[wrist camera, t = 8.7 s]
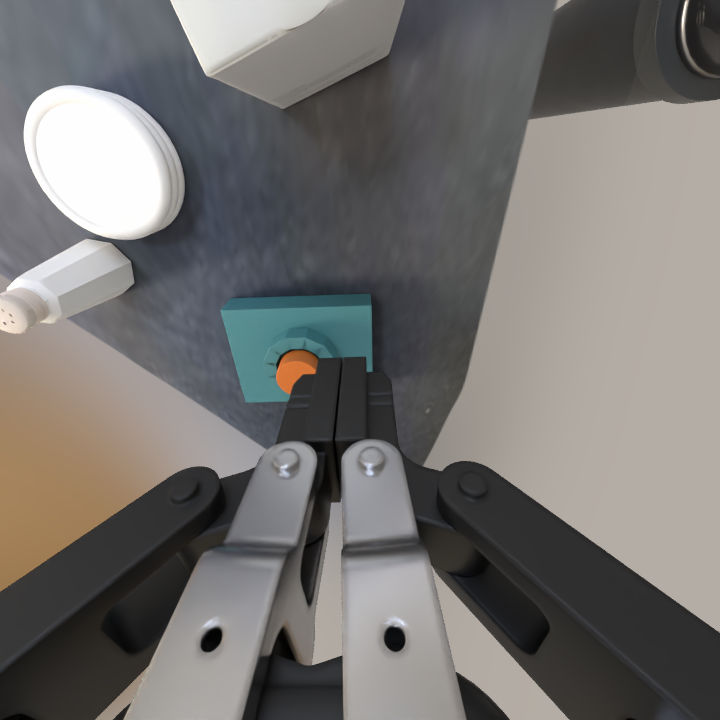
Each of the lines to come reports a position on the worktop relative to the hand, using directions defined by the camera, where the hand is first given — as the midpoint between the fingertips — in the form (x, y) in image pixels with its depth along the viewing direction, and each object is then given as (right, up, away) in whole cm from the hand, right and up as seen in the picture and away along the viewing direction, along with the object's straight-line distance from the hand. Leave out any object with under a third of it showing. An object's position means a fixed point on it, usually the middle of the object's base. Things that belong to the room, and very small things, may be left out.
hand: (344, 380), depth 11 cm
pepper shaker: (-24, +10, +21) cm, 33 cm away
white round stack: (-19, +16, +17) cm, 30 cm away
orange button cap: (-5, 0, +22) cm, 22 cm away
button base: (-5, +2, +26) cm, 26 cm away
